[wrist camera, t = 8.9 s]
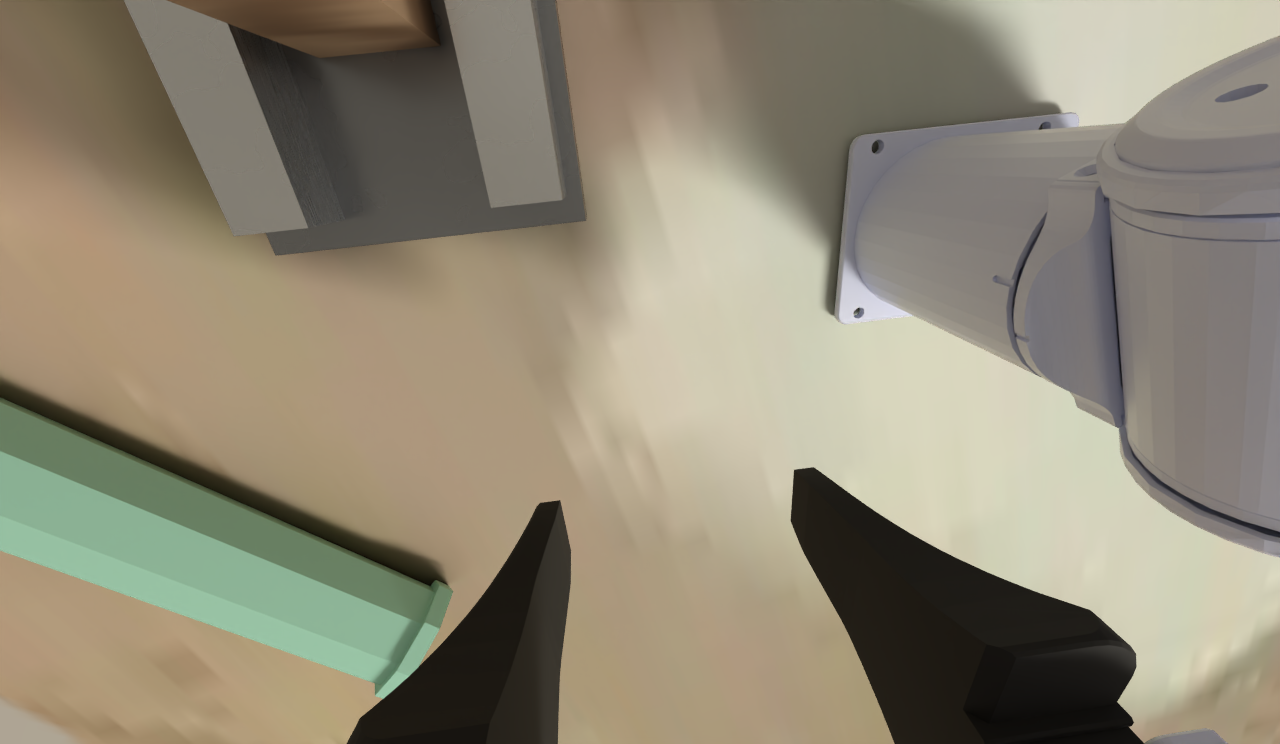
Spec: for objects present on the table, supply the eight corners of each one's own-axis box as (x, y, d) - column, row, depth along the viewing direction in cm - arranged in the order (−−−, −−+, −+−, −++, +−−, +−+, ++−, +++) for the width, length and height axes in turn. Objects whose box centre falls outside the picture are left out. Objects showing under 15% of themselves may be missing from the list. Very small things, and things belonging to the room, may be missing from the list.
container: (-378, 489, 14) (376, 731, 22) (-241, 336, 15) (448, 624, 23) (-133, 443, 20) (400, 648, 28) (-40, 333, 20) (457, 564, 28)
